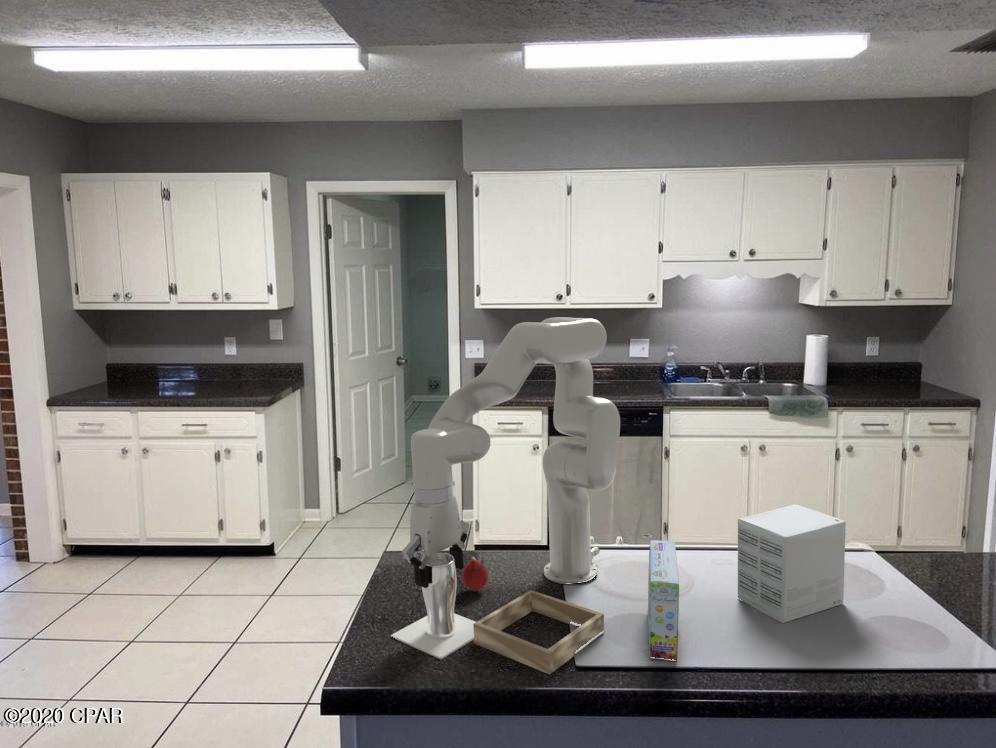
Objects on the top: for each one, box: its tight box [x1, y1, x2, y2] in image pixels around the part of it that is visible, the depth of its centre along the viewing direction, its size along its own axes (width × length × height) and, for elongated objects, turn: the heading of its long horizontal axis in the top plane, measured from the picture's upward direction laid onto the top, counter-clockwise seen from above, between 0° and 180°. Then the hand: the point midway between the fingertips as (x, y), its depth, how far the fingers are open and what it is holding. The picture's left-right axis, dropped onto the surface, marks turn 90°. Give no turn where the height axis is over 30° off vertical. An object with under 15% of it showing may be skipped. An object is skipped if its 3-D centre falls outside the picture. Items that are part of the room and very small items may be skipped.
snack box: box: [647, 539, 680, 661], centre depth 138 cm, size 21×6×15 cm, turn 168°
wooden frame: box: [473, 590, 605, 675], centre depth 138 cm, size 18×18×4 cm
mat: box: [390, 612, 477, 660], centre depth 142 cm, size 14×14×1 cm
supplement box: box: [737, 503, 847, 624], centre depth 148 cm, size 17×13×18 cm
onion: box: [461, 556, 489, 593], centre depth 159 cm, size 6×6×8 cm
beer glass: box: [421, 552, 458, 639], centre depth 141 cm, size 7×7×15 cm
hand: (440, 576), depth 141 cm, fingers open, 9 cm apart
